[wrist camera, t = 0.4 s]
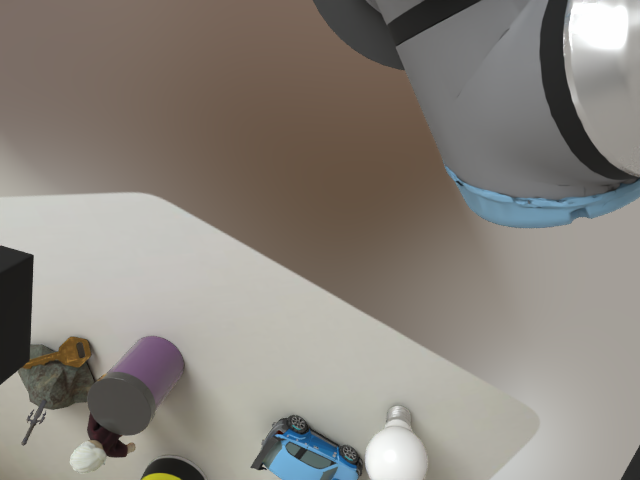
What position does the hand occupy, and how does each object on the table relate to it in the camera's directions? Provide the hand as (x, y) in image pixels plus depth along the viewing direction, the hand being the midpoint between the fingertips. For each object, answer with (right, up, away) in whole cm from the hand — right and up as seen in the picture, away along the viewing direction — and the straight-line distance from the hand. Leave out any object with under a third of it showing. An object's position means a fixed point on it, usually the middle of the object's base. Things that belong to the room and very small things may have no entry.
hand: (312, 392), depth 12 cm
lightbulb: (+9, -16, +52) cm, 55 cm away
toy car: (0, -22, +55) cm, 59 cm away
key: (-32, -11, +55) cm, 64 cm away
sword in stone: (-33, -14, +58) cm, 68 cm away
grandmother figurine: (-23, -16, +57) cm, 64 cm away
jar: (-19, -11, +55) cm, 59 cm away
